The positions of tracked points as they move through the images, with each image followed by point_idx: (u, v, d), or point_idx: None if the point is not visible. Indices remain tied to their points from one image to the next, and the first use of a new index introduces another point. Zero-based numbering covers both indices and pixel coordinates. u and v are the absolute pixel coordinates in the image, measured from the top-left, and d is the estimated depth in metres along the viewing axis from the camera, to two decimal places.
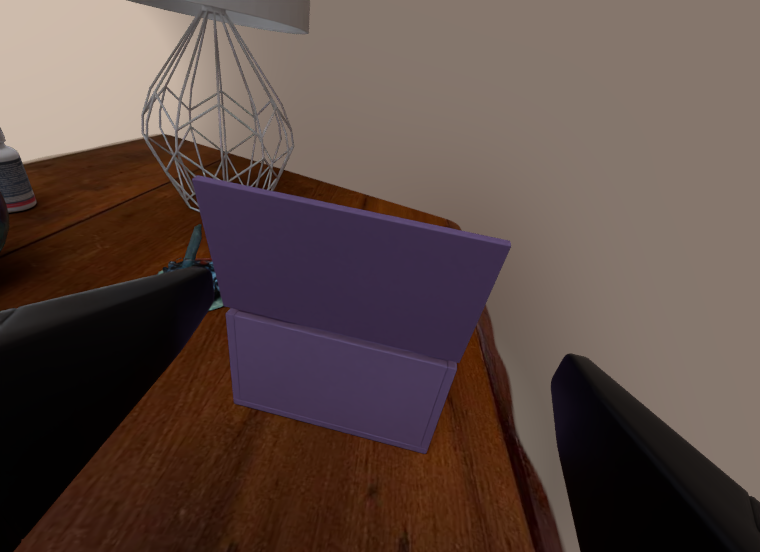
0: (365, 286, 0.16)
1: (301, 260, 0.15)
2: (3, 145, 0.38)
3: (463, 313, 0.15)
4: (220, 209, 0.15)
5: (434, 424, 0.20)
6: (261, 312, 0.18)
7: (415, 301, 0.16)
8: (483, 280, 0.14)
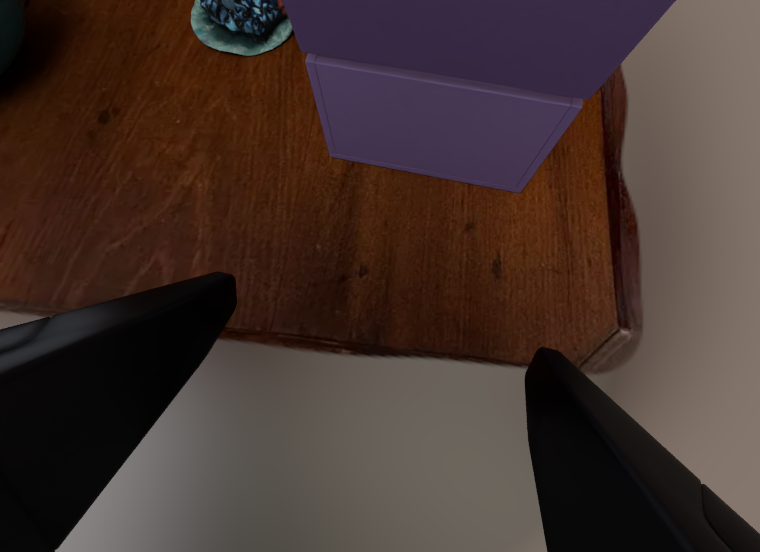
0: (487, 3, 0.11)
1: None
2: None
3: (622, 31, 0.11)
4: None
5: (536, 167, 0.20)
6: (346, 56, 0.15)
7: (555, 20, 0.11)
8: None
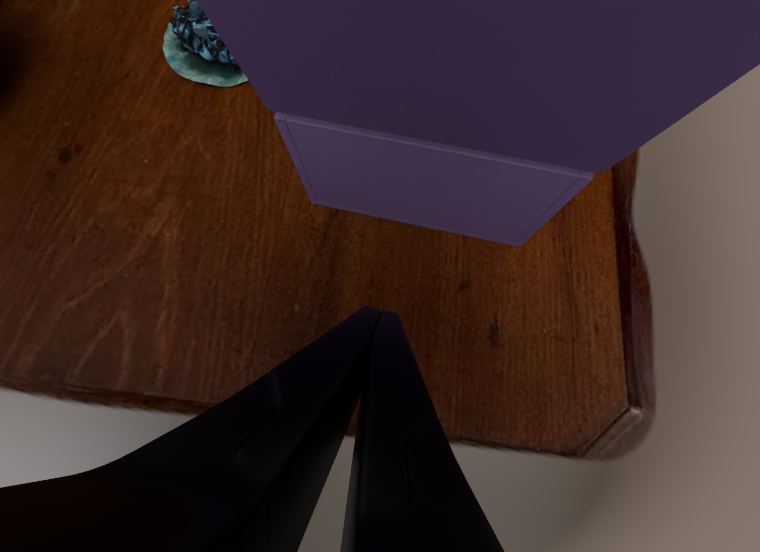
0: (481, 80, 0.09)
1: (370, 43, 0.09)
2: None
3: (648, 117, 0.09)
4: None
5: (539, 227, 0.18)
6: (319, 117, 0.13)
7: (565, 101, 0.09)
8: (731, 63, 0.07)
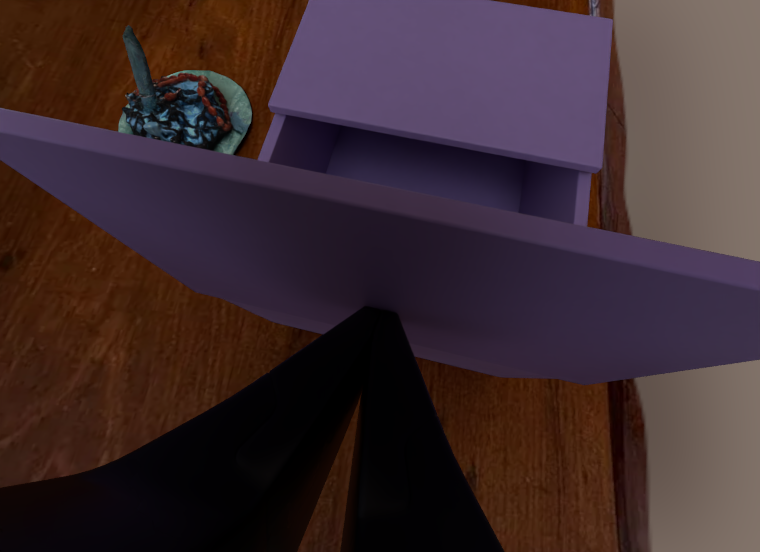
0: (434, 313, 0.08)
1: (295, 271, 0.07)
2: None
3: (639, 364, 0.07)
4: (73, 185, 0.06)
5: (519, 377, 0.16)
6: (254, 304, 0.11)
7: (537, 339, 0.08)
8: (747, 350, 0.06)
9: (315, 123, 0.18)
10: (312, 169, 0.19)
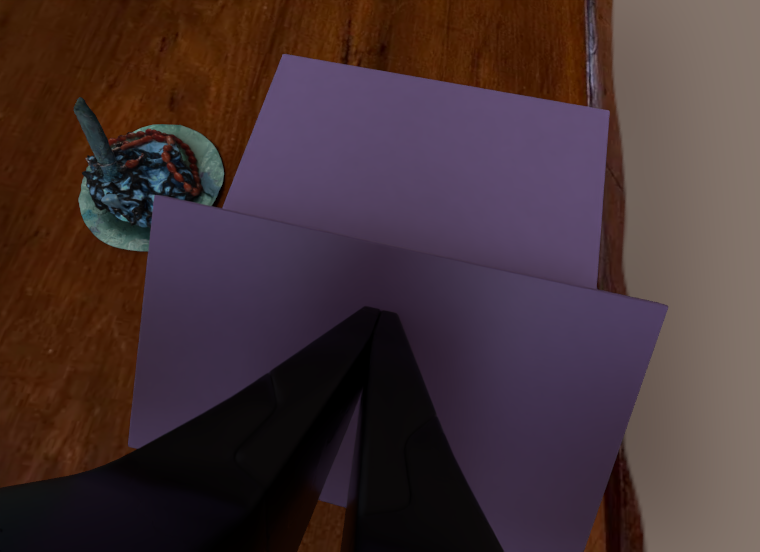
0: None
1: (302, 341, 0.09)
2: None
3: (586, 448, 0.09)
4: (184, 247, 0.09)
5: None
6: None
7: (498, 424, 0.09)
8: (623, 375, 0.08)
9: None
10: None
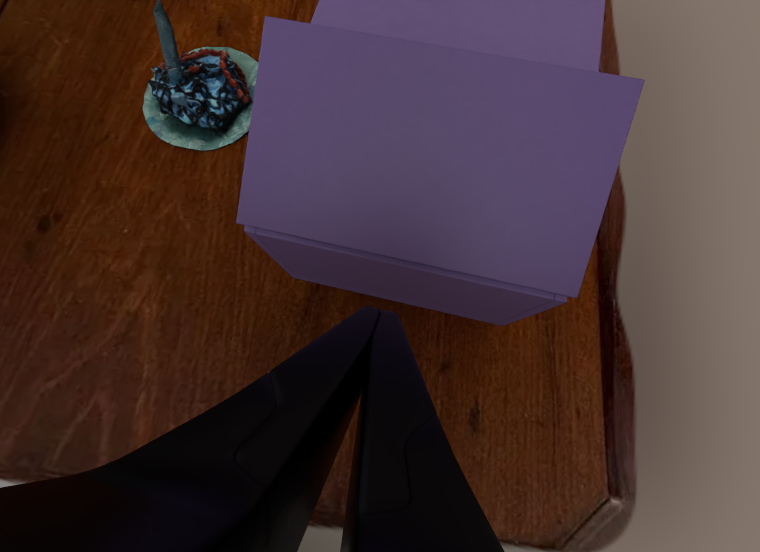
0: (455, 162, 0.12)
1: (374, 126, 0.12)
2: None
3: (585, 196, 0.12)
4: (287, 56, 0.12)
5: (519, 318, 0.17)
6: (291, 229, 0.13)
7: (520, 182, 0.12)
8: (612, 136, 0.11)
9: None
10: None
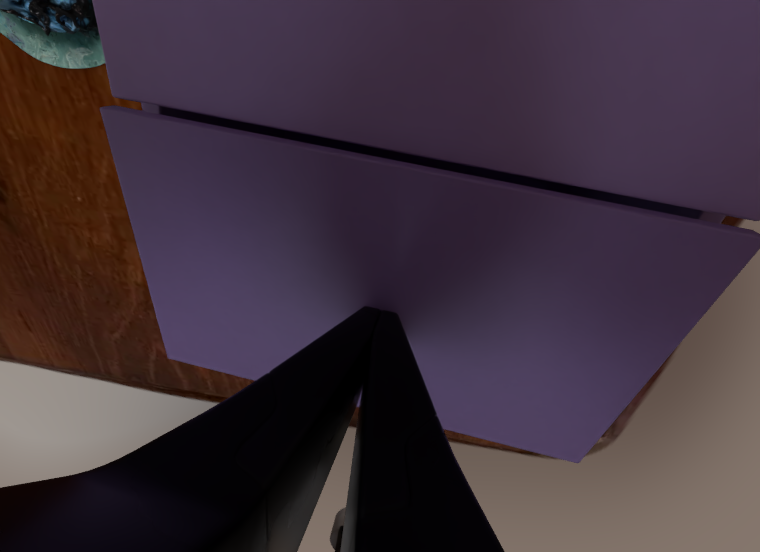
0: (426, 324, 0.08)
1: (308, 275, 0.08)
2: None
3: (613, 378, 0.08)
4: (156, 174, 0.08)
5: None
6: (231, 370, 0.11)
7: (520, 354, 0.08)
8: (677, 314, 0.07)
9: None
10: None
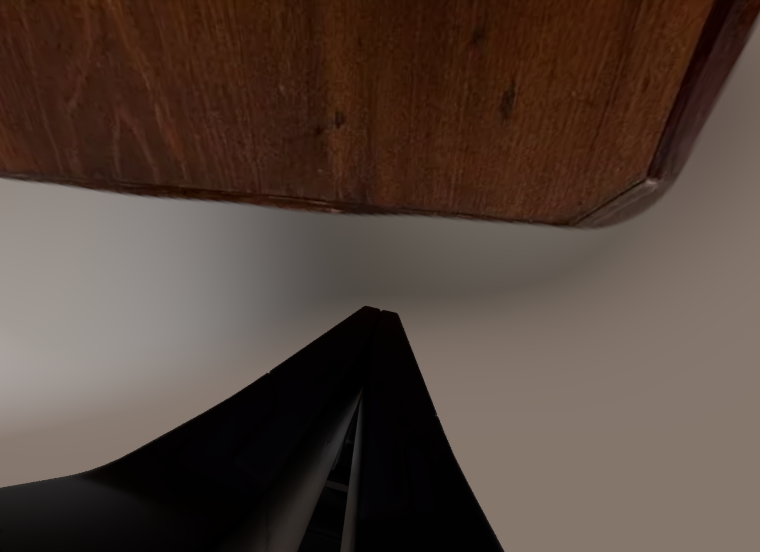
0: None
1: None
2: None
3: None
4: None
5: None
6: None
7: None
8: None
9: None
10: None
